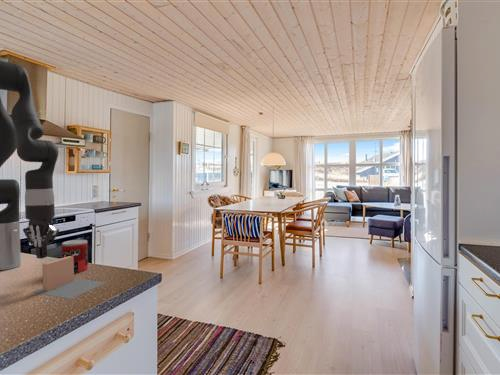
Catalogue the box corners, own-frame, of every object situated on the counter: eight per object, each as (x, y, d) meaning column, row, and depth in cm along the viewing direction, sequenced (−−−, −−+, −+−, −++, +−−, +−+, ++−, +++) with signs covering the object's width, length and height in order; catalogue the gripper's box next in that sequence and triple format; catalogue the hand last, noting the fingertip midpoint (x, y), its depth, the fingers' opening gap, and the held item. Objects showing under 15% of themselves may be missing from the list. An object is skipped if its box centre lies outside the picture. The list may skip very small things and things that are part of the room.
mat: (31, 294, 87) (31, 292, 87) (70, 279, 99) (70, 277, 99) (70, 300, 82) (70, 298, 82) (106, 284, 95) (106, 282, 95)
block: (43, 290, 88) (42, 263, 88) (69, 280, 97) (69, 256, 96) (47, 291, 87) (46, 264, 87) (74, 280, 96) (73, 256, 96)
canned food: (57, 274, 104) (56, 243, 104) (77, 267, 112) (76, 238, 111) (73, 276, 102) (73, 245, 101) (92, 269, 109) (92, 240, 109)
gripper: (12, 204, 91) (14, 259, 92) (43, 204, 87) (45, 262, 88) (36, 202, 99) (38, 253, 99) (66, 202, 95) (68, 256, 95)
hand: (41, 257), depth 94 cm, fingers closed
